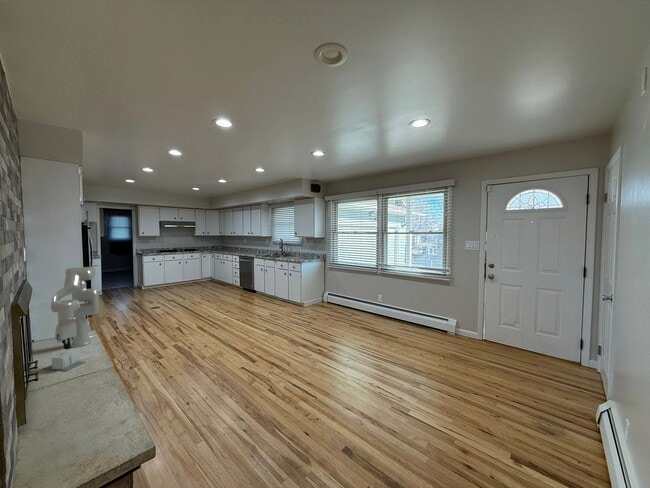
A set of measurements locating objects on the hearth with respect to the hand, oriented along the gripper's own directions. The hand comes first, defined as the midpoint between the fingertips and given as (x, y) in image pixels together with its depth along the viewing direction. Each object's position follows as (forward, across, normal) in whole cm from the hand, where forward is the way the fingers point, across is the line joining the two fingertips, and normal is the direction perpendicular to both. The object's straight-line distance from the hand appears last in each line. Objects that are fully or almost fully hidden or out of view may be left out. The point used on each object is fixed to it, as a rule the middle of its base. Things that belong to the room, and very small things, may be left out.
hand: (67, 348), depth 182 cm
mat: (+10, +2, +1) cm, 10 cm away
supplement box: (+6, -5, 0) cm, 8 cm away
